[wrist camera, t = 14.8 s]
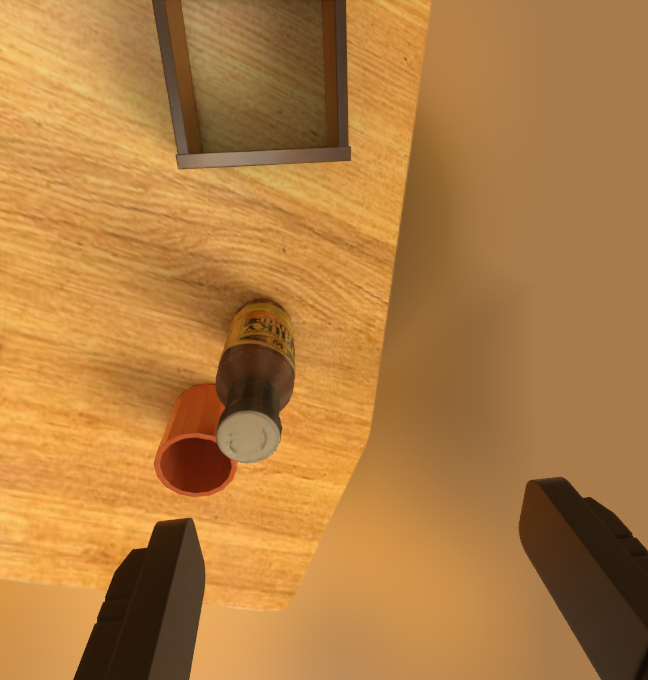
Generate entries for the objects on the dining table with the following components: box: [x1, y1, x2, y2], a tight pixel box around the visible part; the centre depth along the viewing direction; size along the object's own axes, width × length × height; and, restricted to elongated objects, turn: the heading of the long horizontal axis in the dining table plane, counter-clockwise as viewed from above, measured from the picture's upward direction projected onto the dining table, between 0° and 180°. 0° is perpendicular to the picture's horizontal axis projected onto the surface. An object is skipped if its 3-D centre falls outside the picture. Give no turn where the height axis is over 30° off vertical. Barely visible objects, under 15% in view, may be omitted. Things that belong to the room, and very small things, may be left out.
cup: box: [154, 384, 238, 497], centre depth 44 cm, size 7×7×9 cm
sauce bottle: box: [215, 299, 295, 463], centre depth 36 cm, size 6×6×20 cm
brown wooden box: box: [152, 0, 351, 169], centre depth 33 cm, size 13×13×7 cm
